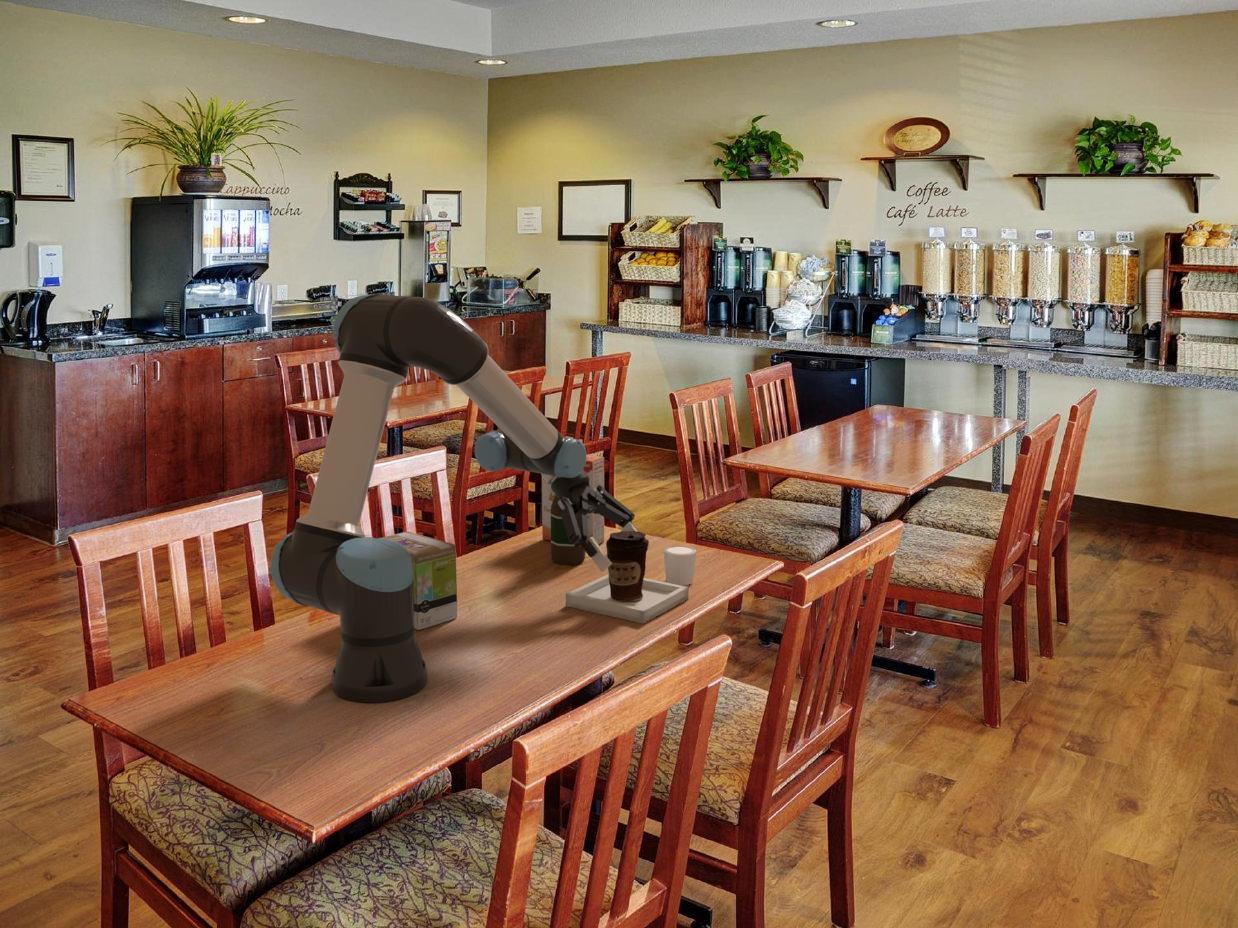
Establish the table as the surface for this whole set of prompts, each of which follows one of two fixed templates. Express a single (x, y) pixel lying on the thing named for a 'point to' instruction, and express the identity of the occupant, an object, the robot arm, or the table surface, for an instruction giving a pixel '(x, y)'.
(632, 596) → the coffee cup
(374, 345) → the robot arm
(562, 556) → the beer bottle
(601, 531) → the cracker box
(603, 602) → the tray
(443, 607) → the tea box
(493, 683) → the table surface
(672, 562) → the shot glass
